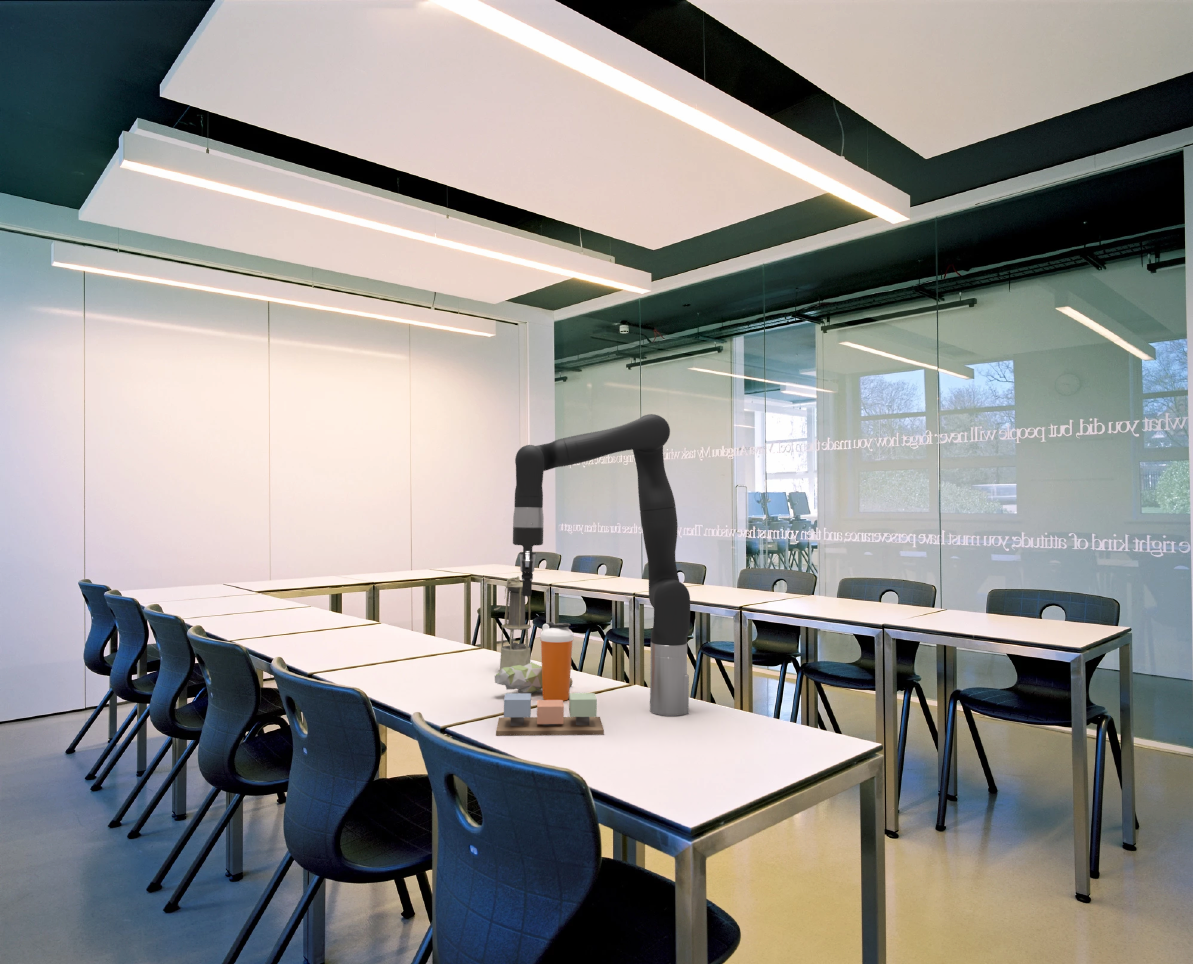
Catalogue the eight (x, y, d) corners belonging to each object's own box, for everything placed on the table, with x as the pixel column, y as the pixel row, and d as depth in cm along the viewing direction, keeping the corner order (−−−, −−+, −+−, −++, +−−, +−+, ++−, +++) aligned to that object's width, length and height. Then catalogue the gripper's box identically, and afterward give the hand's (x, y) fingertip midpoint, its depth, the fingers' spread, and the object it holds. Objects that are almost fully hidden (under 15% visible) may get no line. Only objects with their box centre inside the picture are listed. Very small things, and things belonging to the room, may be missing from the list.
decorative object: (557, 680, 215) (484, 673, 200) (574, 659, 211) (501, 650, 196) (566, 706, 208) (491, 700, 194) (584, 685, 205) (509, 677, 190)
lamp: (538, 673, 226) (540, 576, 228) (504, 679, 217) (506, 578, 219) (517, 668, 234) (519, 574, 235) (484, 674, 225) (486, 576, 226)
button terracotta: (562, 716, 172) (562, 699, 172) (563, 723, 166) (563, 706, 166) (537, 716, 171) (537, 700, 171) (536, 724, 165) (537, 706, 165)
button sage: (594, 709, 172) (594, 693, 172) (596, 716, 166) (596, 699, 166) (569, 710, 172) (569, 693, 172) (570, 716, 166) (570, 699, 166)
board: (599, 721, 175) (599, 708, 175) (603, 734, 164) (604, 721, 164) (498, 721, 173) (499, 708, 173) (496, 735, 162) (496, 721, 162)
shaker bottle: (567, 703, 191) (569, 626, 192) (535, 701, 192) (536, 624, 193) (575, 695, 199) (576, 621, 200) (544, 693, 201) (545, 620, 202)
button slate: (530, 710, 171) (531, 693, 171) (530, 717, 165) (530, 699, 165) (504, 710, 171) (505, 693, 171) (503, 717, 165) (504, 699, 165)
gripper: (543, 526, 175) (542, 599, 174) (543, 525, 188) (542, 593, 188) (512, 526, 175) (510, 598, 174) (513, 525, 188) (512, 593, 187)
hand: (526, 595), depth 181 cm, fingers closed
